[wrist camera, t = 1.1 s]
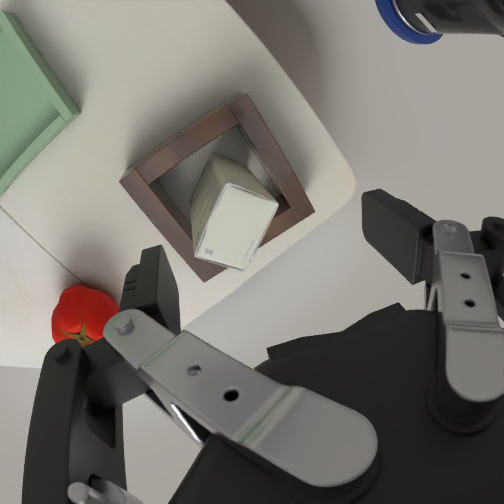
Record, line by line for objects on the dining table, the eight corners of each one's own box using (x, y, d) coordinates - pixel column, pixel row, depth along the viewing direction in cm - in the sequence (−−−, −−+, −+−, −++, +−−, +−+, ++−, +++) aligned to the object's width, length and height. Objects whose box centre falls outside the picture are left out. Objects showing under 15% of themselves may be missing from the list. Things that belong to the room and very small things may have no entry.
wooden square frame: (239, 93, 29) (247, 93, 26) (302, 199, 36) (315, 211, 33) (125, 170, 31) (118, 181, 27) (201, 264, 38) (204, 283, 34)
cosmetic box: (224, 216, 35) (245, 275, 25) (187, 202, 34) (191, 259, 23) (249, 165, 33) (283, 204, 23) (210, 149, 32) (226, 181, 21)
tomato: (133, 325, 40) (129, 367, 34) (77, 335, 39) (66, 375, 33) (109, 266, 35) (97, 306, 29) (48, 280, 34) (29, 318, 28)
